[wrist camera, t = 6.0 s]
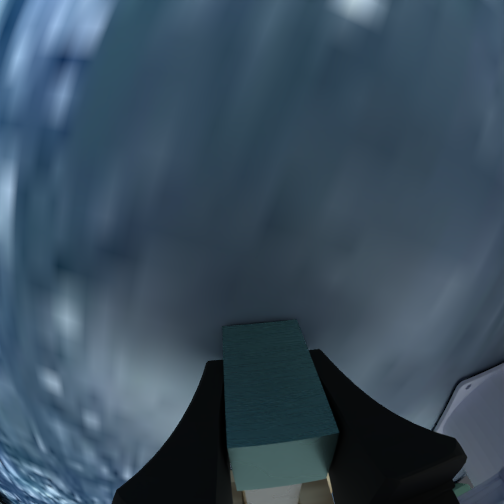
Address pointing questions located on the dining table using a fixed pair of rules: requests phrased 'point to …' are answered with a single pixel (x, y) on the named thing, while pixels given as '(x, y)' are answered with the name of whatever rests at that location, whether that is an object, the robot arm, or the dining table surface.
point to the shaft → (274, 412)
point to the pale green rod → (461, 489)
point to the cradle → (311, 494)
